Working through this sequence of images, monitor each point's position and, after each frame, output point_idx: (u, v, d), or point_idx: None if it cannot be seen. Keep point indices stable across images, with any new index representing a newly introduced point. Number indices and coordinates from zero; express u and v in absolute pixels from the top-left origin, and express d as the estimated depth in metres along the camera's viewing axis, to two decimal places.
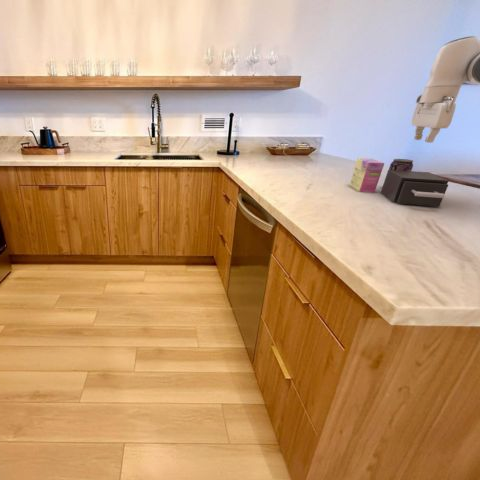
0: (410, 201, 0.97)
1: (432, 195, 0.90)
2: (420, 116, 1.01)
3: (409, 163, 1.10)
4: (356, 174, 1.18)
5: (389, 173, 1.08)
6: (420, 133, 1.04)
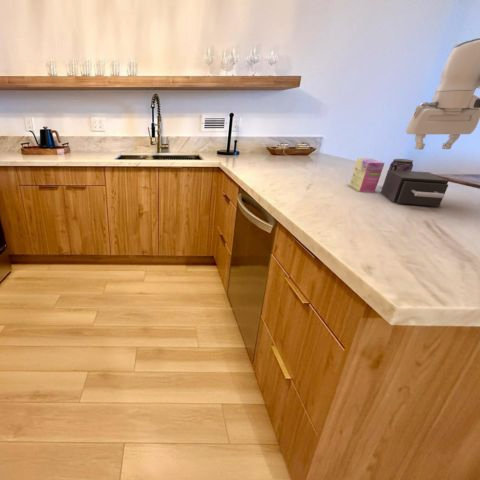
0: (410, 201, 0.97)
1: (432, 195, 0.90)
2: None
3: (409, 163, 1.10)
4: (356, 174, 1.18)
5: (389, 173, 1.08)
6: (450, 142, 0.92)
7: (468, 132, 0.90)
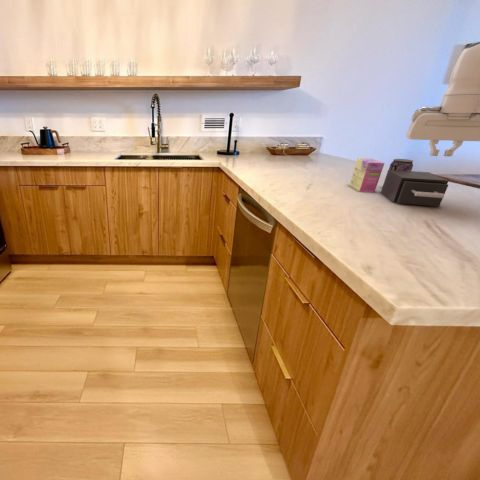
0: (410, 201, 0.97)
1: (432, 195, 0.90)
2: None
3: (409, 163, 1.10)
4: (356, 174, 1.18)
5: (389, 173, 1.08)
6: (452, 149, 0.86)
7: None
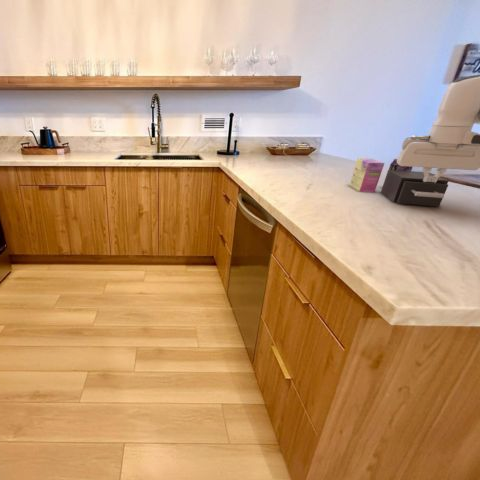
0: (410, 201, 0.97)
1: (432, 195, 0.90)
2: None
3: None
4: (356, 174, 1.18)
5: (389, 173, 1.08)
6: (436, 175, 0.90)
7: (472, 168, 0.85)
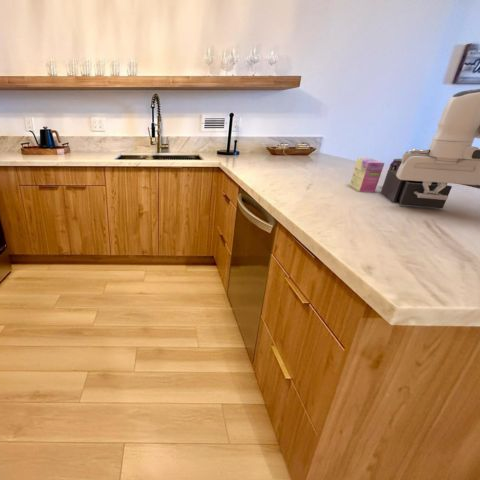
0: (413, 203, 0.95)
1: (435, 197, 0.88)
2: None
3: None
4: (356, 174, 1.18)
5: (389, 173, 1.08)
6: (436, 189, 0.89)
7: (473, 183, 0.84)
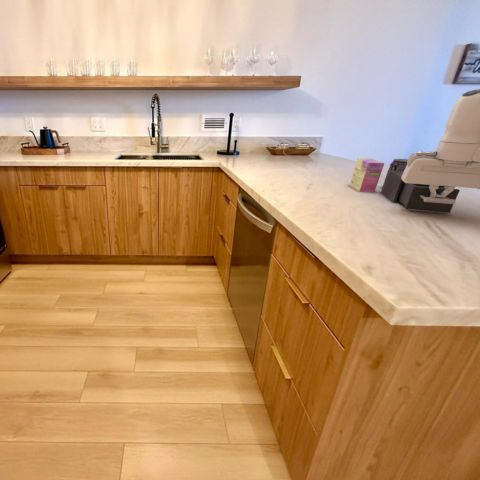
0: (418, 207, 0.91)
1: (443, 201, 0.84)
2: None
3: None
4: (356, 174, 1.18)
5: (389, 173, 1.08)
6: (443, 193, 0.85)
7: None
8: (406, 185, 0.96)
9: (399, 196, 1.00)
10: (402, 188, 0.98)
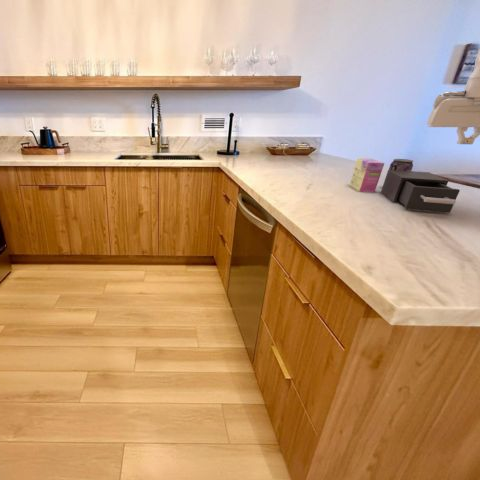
0: (418, 207, 0.91)
1: (443, 201, 0.84)
2: None
3: (409, 163, 1.10)
4: (356, 174, 1.18)
5: (389, 173, 1.08)
6: (473, 136, 0.81)
7: None
8: (406, 185, 0.96)
9: (399, 196, 1.00)
10: (402, 188, 0.98)
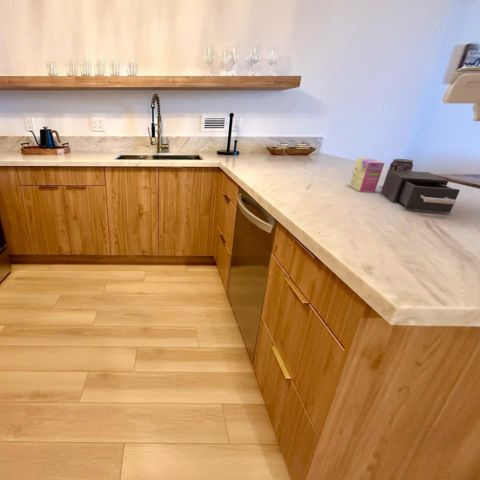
0: (418, 207, 0.91)
1: (443, 201, 0.84)
2: None
3: (409, 163, 1.10)
4: (356, 174, 1.18)
5: (389, 173, 1.08)
6: None
7: None
8: (406, 185, 0.96)
9: (399, 196, 1.00)
10: (402, 188, 0.98)
